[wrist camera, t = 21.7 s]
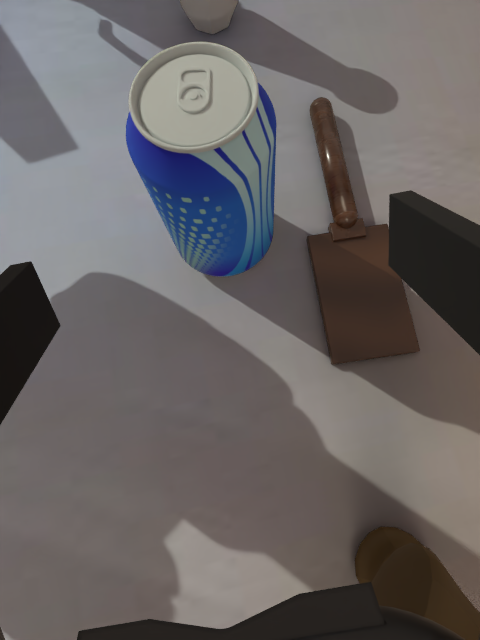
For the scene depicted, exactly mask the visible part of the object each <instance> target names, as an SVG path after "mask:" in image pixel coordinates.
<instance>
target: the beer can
mask: <svg viewBox="0 0 480 640" xmlns="http://www.w3.org/2000/svg"><path fill="white" fill-rule="evenodd" d="M129 109H130V112H129V115H128V119H127V125H126V141H127V146H128V150H129V153H130V156H131V158H132V161H133V163H134V165H135V167H136V169H137V170H138V172H139V174H140V176H141V178H142V180H143V182H144V184H145V186H146V188H147V190H148V192H149V194H150V196H151V198H152V200H153V202H154V204H155V206H156V208H157V210H158V212H159V214H160V216H161V218H162V220H163V222H164V224H165V226H166V228H167V230H168V232H169V234H170V236H171V238H172V240H173V242H174V244H175V245H176V247H177V249H178V251H179V253H180V255H181V256H182V258H183V259H184V260H185V261H186V262H187V263H188V264H189V265H190V266H191V267H193V268H194V269H196V270H197V271H199V272H202V273H204V274H207V275H211V276H219V277H224V276H233V275H237V274H240V273H242V272H245V271H247V270H248V269H250V268H252V267H253V266H254V265H256V264H257V263H258V262H259V261H260V260H261V259H262V258H263V257H264V255H265V254H266V252H267V251H268V249H269V246H270V244H271V241H272V237H273V221H274V186H275V151H276V117H275V112H274V108H273V105H272V103H271V101H270V98H269V96H268V95H267V93H266V91H265V90H264V89H263V87H262V86H261V85H260V84H259V83H258V82H257V78H256V75H255V73H254V71H253V69H252V68H251V66H250V65H249V63H248V62H247V61H246V60H245V59H244V58H243V57H242V56H241V55H239V54H238V53H237V52H235V51H233V50H232V49H230V48H227V47H225V46H222V45H219V44H215V43H209V42H189V43H183V44H179V45H176V46H173V47H170V48H168V49H165V50H163V51H162V52H160V53H158V54H157V55H155V56H154V57H152V58H151V59H150V60H149V61H148V62H147V63H145V65H144V66H143V67H142V68H141V69H140V70H139V72H138V73H137V75H136V77H135V78H134V80H133V83H132V85H131V89H130V93H129Z"/></svg>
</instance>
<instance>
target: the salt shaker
mask: <svg viewBox="0 0 480 640" xmlns="http://www.w3.org/2000/svg"><path fill="white" fill-rule="evenodd" d="M237 3H238V0H180V4H181V6H182V8H183V10H184V11H185V13H186V14H187V16H188V18H189V19H190V20H191V22H192V23H193V25H194V26H195V28H196V29H197V30H199V31H202V32H206V33H210V34H215V33H217V32H219V31H221V30H223V29H225V28H227V27H229V24H230V20H231V17H232V15H233V12H234V10H235V8H236V5H237Z"/></svg>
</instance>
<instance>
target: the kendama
mask: <svg viewBox="0 0 480 640" xmlns="http://www.w3.org/2000/svg"><path fill="white" fill-rule="evenodd" d="M355 569H356V577H357V579H358V581H359V583H360V584H361V583H367V582H371V583H372V586H373V589H374V592H375V595H376V598H377V601H378V604H379V605H380V606H387V607H394V608H397V609H401V610H405V611H409V612H412V613H415V614H417V615H420V616H422V617H425V618H427V619H430V620H432V621H434V622H436V623H438V624H440V625H442V626H444V627H446V628H448V629H449V630H451V631H453V632H455V633H456V634H458V635H459V636H461V637H462V638H464V639H465V640H478V638H479V633H480V612H479V611H478V610H477V609H476V608H475V607H474V606H473V605H472V604H471V602H470V601H469V600H468V599H467V597H466V596H465V595H464V594H463V592H462V591H461V590H460V588H459V587H458V585H457V584H456V583H455V581H454V580H453V578H452V577H451V576H450V574H449V573H448V571H447V570H446V568H445V567H444V566H443V564H442V563H441V562H440V560H439V559H438V558H437V556H436V555H435V554H434V553H433V552H432V551H431V550H430V549H429V548H427V547H424V546H423V545H422V544H421V543H420V542H419V541H418V540H416V539H415V538H414V537H413V536H412V535H411V534H409V533H407V532H404V531H402V530H400V529H398V528H396V527H379V528H378V529H376V530H374V531H372V532H370V533H369V534H368V535H367V536H366V537H365V539H364V540H363V541H362V542H361V544H360V546H359V549H358V552H357V555H356V558H355Z"/></svg>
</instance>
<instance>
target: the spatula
mask: <svg viewBox="0 0 480 640" xmlns="http://www.w3.org/2000/svg"><path fill="white" fill-rule="evenodd" d="M310 116H311V120H312V125H313V129H314V134H315V138H316V143H317V147H318V152H319V156H320V161H321V165H322V170H323V174H324V179H325V184H326V188H327V193H328V197H329V202H330V206H331V211H332V215H333V220H334V223H330V225H329V228H328V230H329V233H324V234H318V235H312V236H308V237H307V243H308V248H309V253H310V258H311V263H312V268H313V273H314V278H315V283H316V288H317V293H318V298H319V303H320V308H321V313H322V318H323V324H324V329H325V334H326V339H327V344H328V349H329V354H330V359H331V364H332V365H333V364H340V363H347V362H353V361H360V360H367V359H374V358H380V357H387V356H394V355H401V354H407V353H414V352H418V351H420V349H419V345H418V341H417V337H416V333H415V329H414V325H413V322H412V318H411V314H410V310H409V306H408V302H407V298H406V295H405V291H404V287H403V283H402V279H401V277H400V276H399V275H398V274H397V273H396V272H395V271H394V270H393V269H392V268H391V267H390V266H389V265H388V259H389V229H388V225H387V224H382V225H375V226H369V227H365V226H364V221H363V218H360V219H358V214H357V209H356V205H355V201H354V197H353V193H352V188H351V184H350V180H349V176H348V172H347V167H346V163H345V159H344V155H343V151H342V147H341V142H340V138H339V134H338V130H337V126H336V121H335V117H334V113H333V109H332V105H331V103H330V101H329V100H328V99H326V98H323V97H320V98H317V99H316V100H314V101H313V103H312V104H311V106H310Z"/></svg>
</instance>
